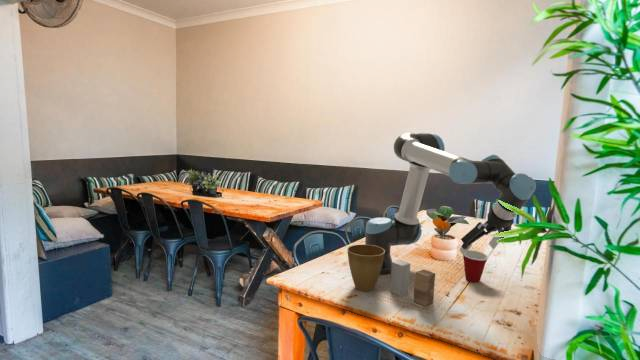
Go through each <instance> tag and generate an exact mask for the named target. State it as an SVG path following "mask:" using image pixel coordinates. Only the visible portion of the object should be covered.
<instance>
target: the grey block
mask: <svg viewBox="0 0 640 360" xmlns="http://www.w3.org/2000/svg"><path fill="white" fill-rule="evenodd" d="M410 273H411V263H409V262H407V261H404V260H402V259H398V260H395V261H392V270H391V273H390V275H391V276H390V285H389V286H390V288H389V291H390V292H391V293H393V294H395V295H397V296H399V297H400V296H403V295H406V294H407V295H408V294H409V288H410V287H409V286H410V277H411V276H410Z"/></svg>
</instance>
